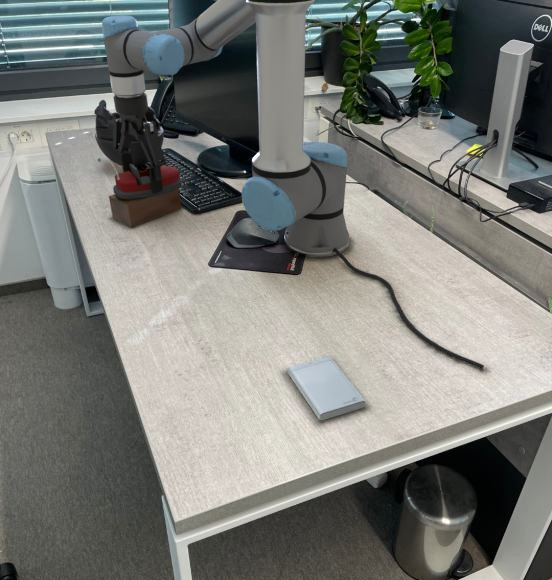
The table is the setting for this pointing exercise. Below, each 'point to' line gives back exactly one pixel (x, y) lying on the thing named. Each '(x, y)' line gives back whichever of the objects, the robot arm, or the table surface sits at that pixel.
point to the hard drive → (326, 388)
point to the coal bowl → (106, 143)
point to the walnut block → (143, 208)
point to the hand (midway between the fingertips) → (143, 185)
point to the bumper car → (144, 182)
